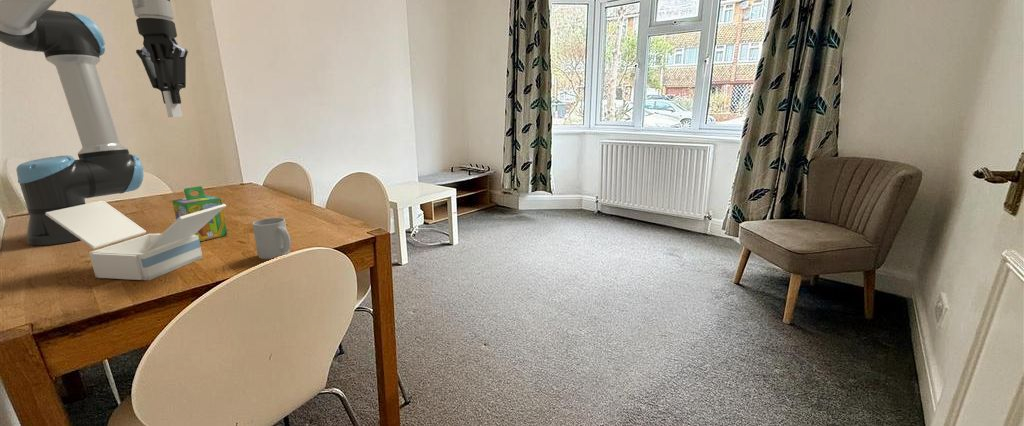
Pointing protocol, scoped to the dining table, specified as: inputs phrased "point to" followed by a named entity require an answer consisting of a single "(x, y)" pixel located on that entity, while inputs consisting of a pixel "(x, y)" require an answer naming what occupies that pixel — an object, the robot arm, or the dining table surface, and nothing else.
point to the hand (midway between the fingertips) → (175, 117)
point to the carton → (144, 258)
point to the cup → (271, 237)
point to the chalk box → (198, 203)
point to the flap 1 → (96, 223)
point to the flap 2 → (185, 226)
